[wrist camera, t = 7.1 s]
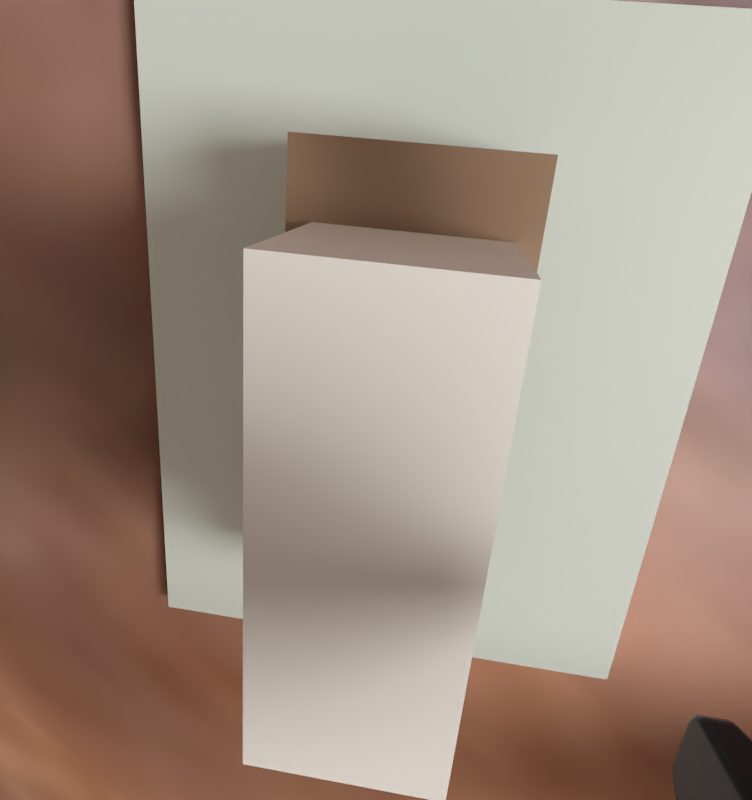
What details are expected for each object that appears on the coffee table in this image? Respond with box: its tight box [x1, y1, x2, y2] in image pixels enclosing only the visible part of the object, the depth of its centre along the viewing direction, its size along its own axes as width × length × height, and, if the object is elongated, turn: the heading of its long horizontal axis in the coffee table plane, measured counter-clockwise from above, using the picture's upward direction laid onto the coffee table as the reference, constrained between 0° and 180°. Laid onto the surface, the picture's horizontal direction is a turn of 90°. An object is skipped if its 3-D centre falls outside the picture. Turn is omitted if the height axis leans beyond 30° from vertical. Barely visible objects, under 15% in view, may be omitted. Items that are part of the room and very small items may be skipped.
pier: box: [285, 132, 558, 272], centre depth 14 cm, size 5×5×5 cm
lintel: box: [243, 222, 542, 800], centre depth 12 cm, size 4×10×4 cm, turn 175°
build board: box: [134, 0, 752, 680], centre depth 18 cm, size 16×20×1 cm
